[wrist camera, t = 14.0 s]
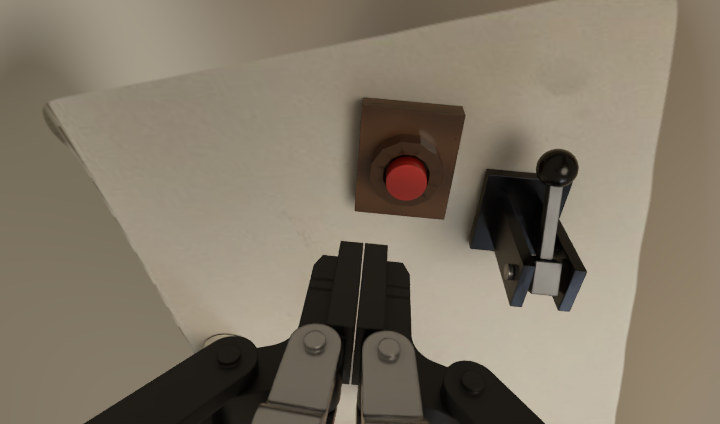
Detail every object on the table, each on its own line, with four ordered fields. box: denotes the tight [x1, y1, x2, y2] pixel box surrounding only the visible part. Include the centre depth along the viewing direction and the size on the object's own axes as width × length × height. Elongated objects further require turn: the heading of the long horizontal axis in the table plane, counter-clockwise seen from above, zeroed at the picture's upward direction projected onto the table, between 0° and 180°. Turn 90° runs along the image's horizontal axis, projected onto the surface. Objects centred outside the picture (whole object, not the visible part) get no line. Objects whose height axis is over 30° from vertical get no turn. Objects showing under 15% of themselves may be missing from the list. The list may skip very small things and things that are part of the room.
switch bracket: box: [469, 169, 587, 312], centre depth 42 cm, size 9×8×12 cm
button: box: [386, 156, 427, 201], centre depth 41 cm, size 4×4×2 cm
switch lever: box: [528, 149, 579, 296], centre depth 38 cm, size 12×3×3 cm, turn 176°
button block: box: [355, 98, 465, 220], centre depth 43 cm, size 11×9×4 cm
